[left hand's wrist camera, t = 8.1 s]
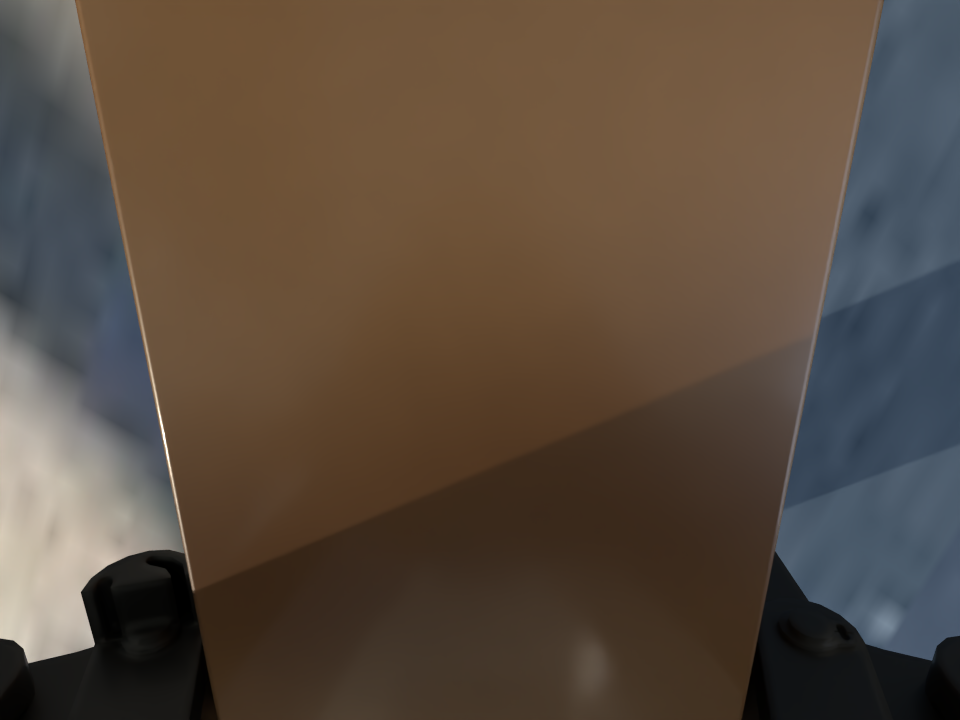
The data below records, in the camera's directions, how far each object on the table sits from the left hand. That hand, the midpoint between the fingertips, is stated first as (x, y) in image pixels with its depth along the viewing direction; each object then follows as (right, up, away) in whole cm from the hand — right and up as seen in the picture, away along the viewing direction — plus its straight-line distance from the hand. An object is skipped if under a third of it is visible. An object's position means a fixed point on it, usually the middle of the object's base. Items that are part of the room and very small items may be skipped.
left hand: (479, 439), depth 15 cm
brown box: (0, +8, -3) cm, 9 cm away
